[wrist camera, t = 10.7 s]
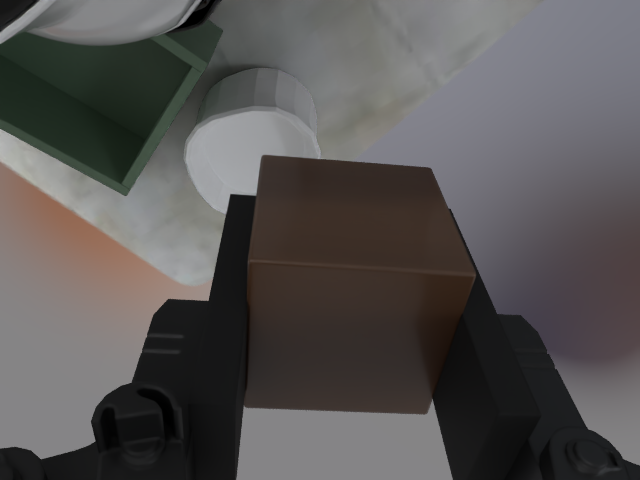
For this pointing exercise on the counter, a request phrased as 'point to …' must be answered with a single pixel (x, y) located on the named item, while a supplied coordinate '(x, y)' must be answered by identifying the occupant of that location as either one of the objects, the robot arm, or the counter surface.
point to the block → (351, 287)
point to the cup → (248, 132)
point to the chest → (100, 97)
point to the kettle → (101, 19)
